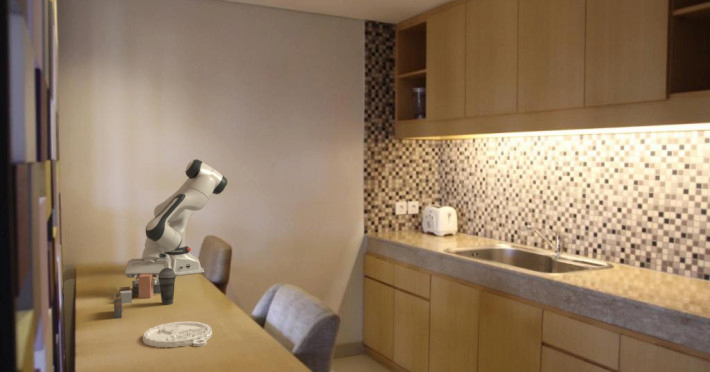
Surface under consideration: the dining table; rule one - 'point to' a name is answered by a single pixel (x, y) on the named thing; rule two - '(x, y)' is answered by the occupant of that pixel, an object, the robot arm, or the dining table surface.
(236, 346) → the dining table surface
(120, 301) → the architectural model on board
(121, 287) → the walnut block
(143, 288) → the terracotta block
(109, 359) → the dining table surface
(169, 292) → the beverage cup
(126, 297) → the grey plastic block
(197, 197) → the robot arm
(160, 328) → the medallion
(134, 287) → the block
